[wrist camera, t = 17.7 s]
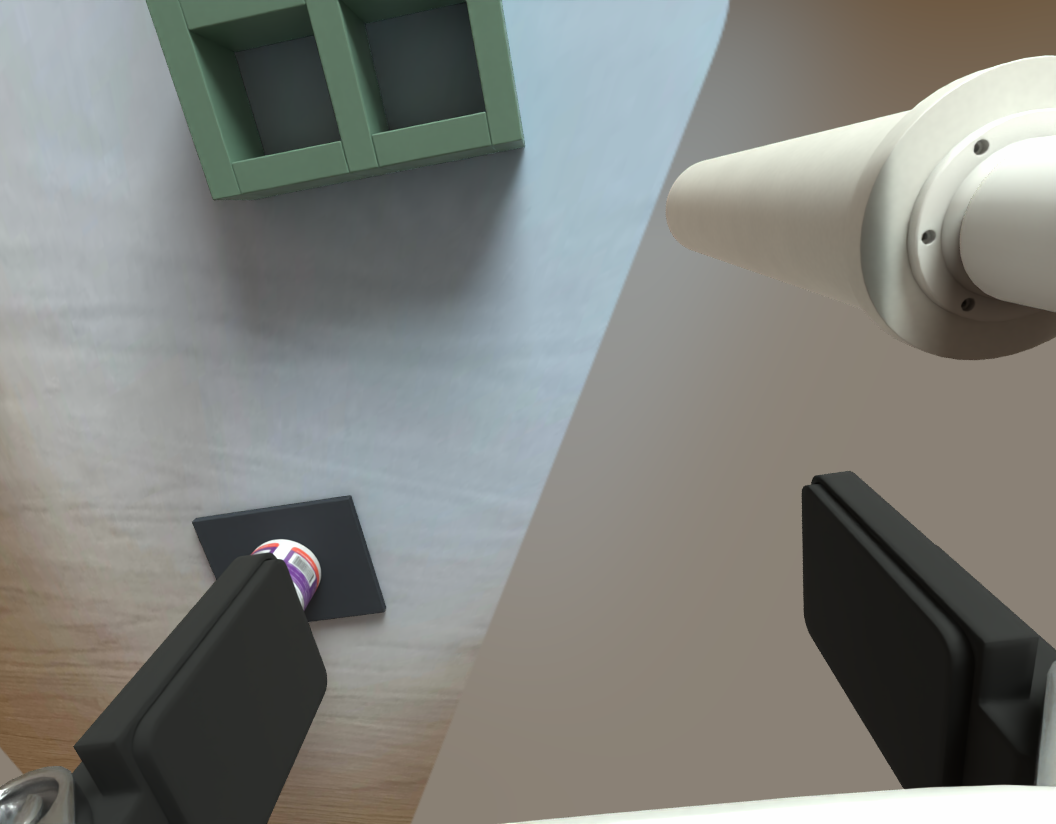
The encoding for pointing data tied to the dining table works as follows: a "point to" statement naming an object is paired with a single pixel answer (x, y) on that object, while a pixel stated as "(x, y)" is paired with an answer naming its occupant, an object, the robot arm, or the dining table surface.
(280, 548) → the pill bottle
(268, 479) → the dining table surface
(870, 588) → the robot arm
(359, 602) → the mat
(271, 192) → the open bin with compartments
